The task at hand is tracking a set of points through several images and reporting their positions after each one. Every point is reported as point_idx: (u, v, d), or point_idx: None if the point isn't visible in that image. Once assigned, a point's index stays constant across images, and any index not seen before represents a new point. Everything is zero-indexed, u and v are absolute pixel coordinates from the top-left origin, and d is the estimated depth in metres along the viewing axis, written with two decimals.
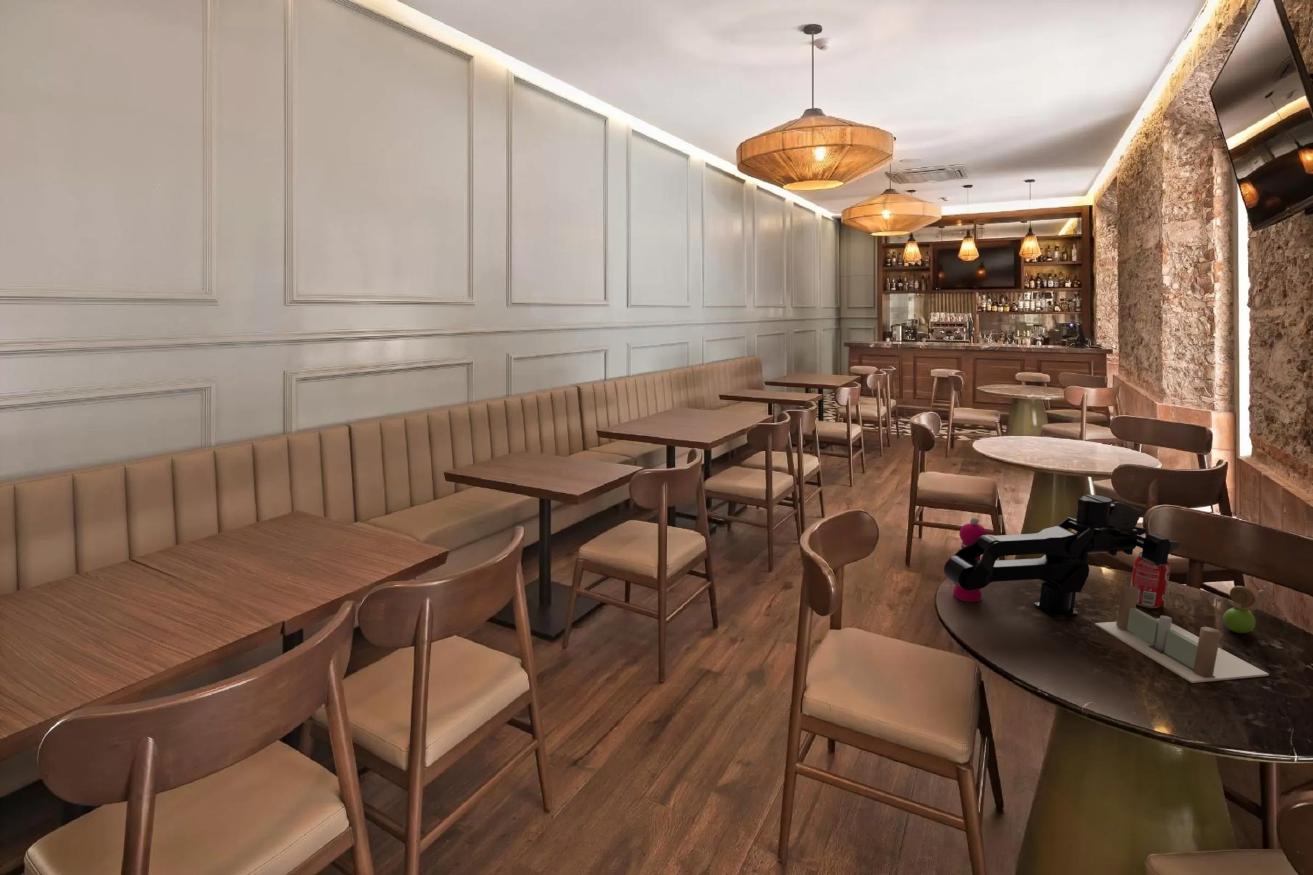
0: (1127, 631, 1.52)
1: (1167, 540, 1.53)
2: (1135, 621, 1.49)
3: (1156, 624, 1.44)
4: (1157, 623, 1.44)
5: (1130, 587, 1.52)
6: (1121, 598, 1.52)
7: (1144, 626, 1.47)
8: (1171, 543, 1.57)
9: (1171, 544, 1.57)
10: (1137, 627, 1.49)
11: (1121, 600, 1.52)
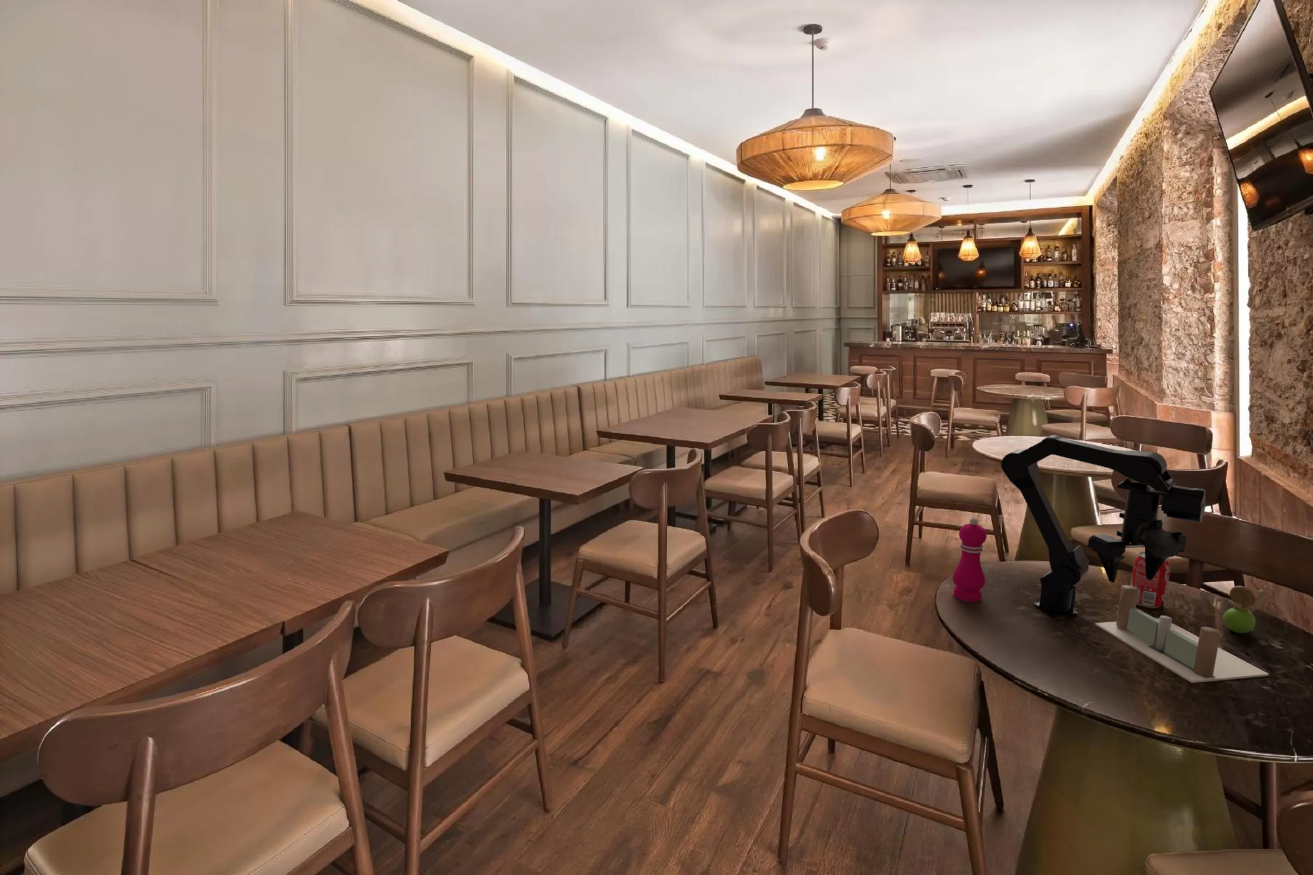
0: (1127, 631, 1.52)
1: (1108, 553, 1.45)
2: (1135, 621, 1.49)
3: (1156, 624, 1.44)
4: (1157, 623, 1.44)
5: (1130, 587, 1.52)
6: (1121, 598, 1.52)
7: (1144, 626, 1.47)
8: (1111, 569, 1.49)
9: (1110, 569, 1.49)
10: (1137, 627, 1.49)
11: (1121, 600, 1.52)
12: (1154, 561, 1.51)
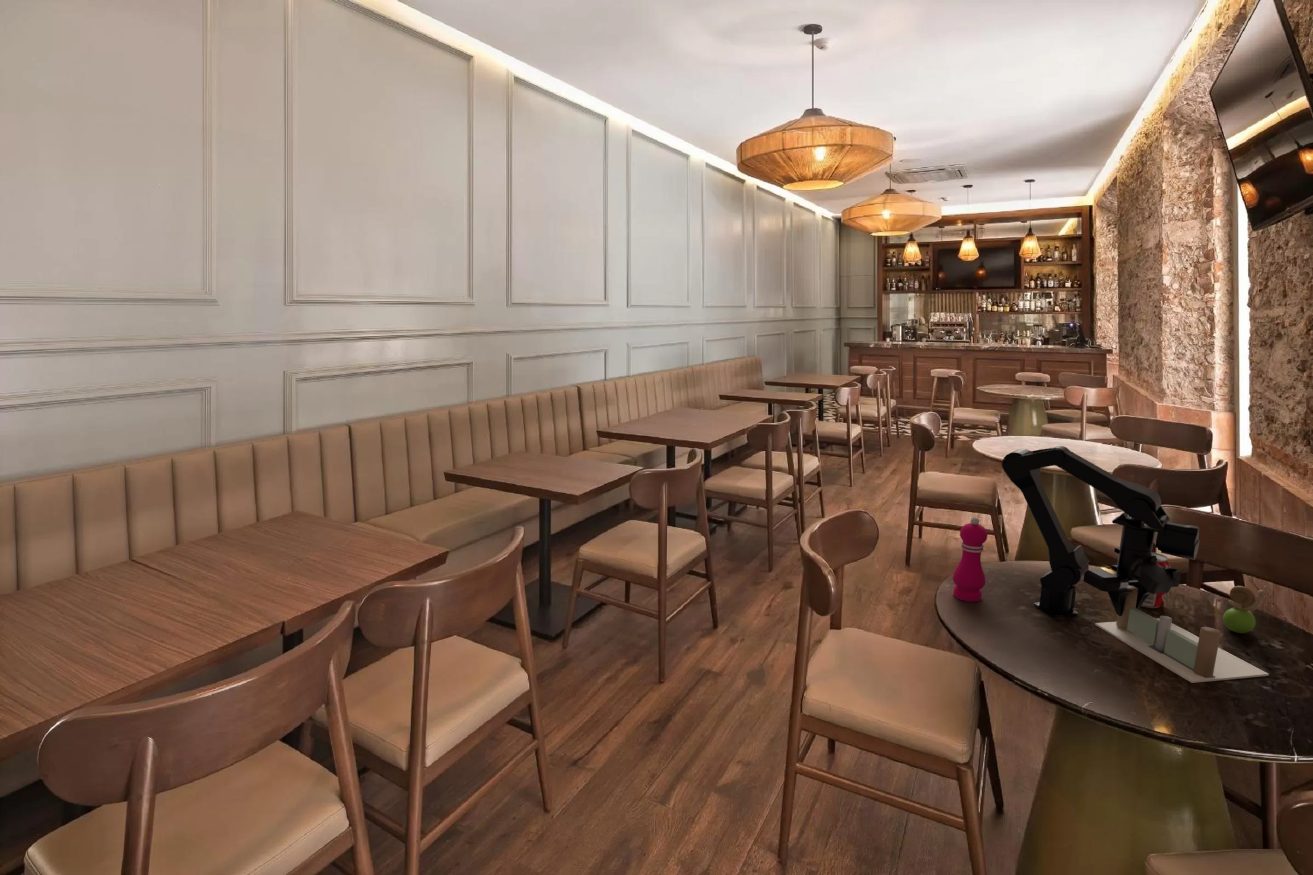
0: (1127, 631, 1.52)
1: (1104, 589, 1.47)
2: (1135, 621, 1.49)
3: (1156, 624, 1.44)
4: (1157, 623, 1.44)
5: (1130, 587, 1.52)
6: None
7: (1144, 626, 1.47)
8: (1119, 603, 1.51)
9: (1118, 603, 1.51)
10: (1137, 627, 1.49)
11: None
12: (1137, 596, 1.52)
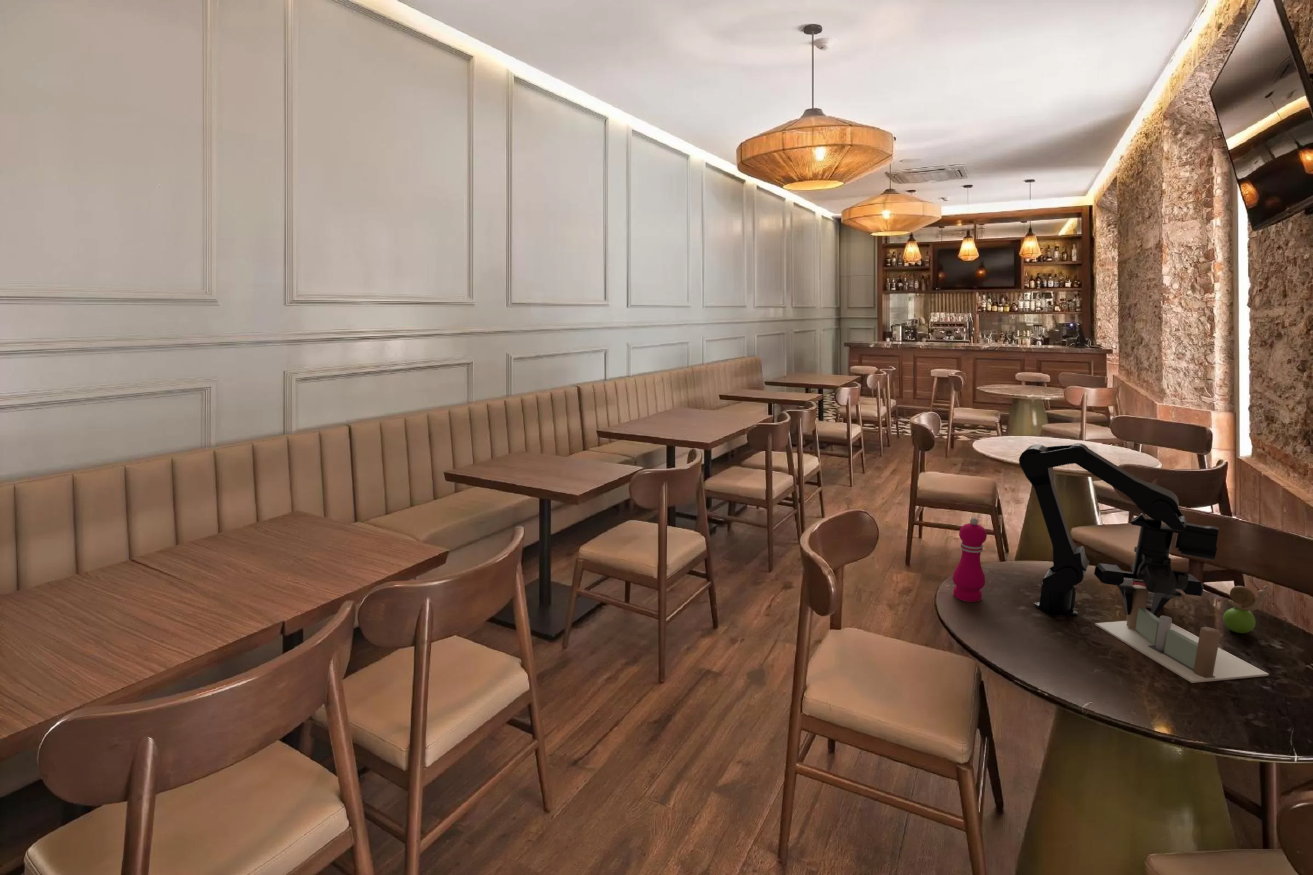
0: (1127, 631, 1.52)
1: (1103, 581, 1.50)
2: (1142, 621, 1.50)
3: (1157, 623, 1.44)
4: (1158, 622, 1.44)
5: (1141, 587, 1.52)
6: None
7: (1148, 626, 1.47)
8: (1125, 601, 1.52)
9: (1125, 600, 1.52)
10: (1143, 627, 1.49)
11: None
12: (1157, 600, 1.50)
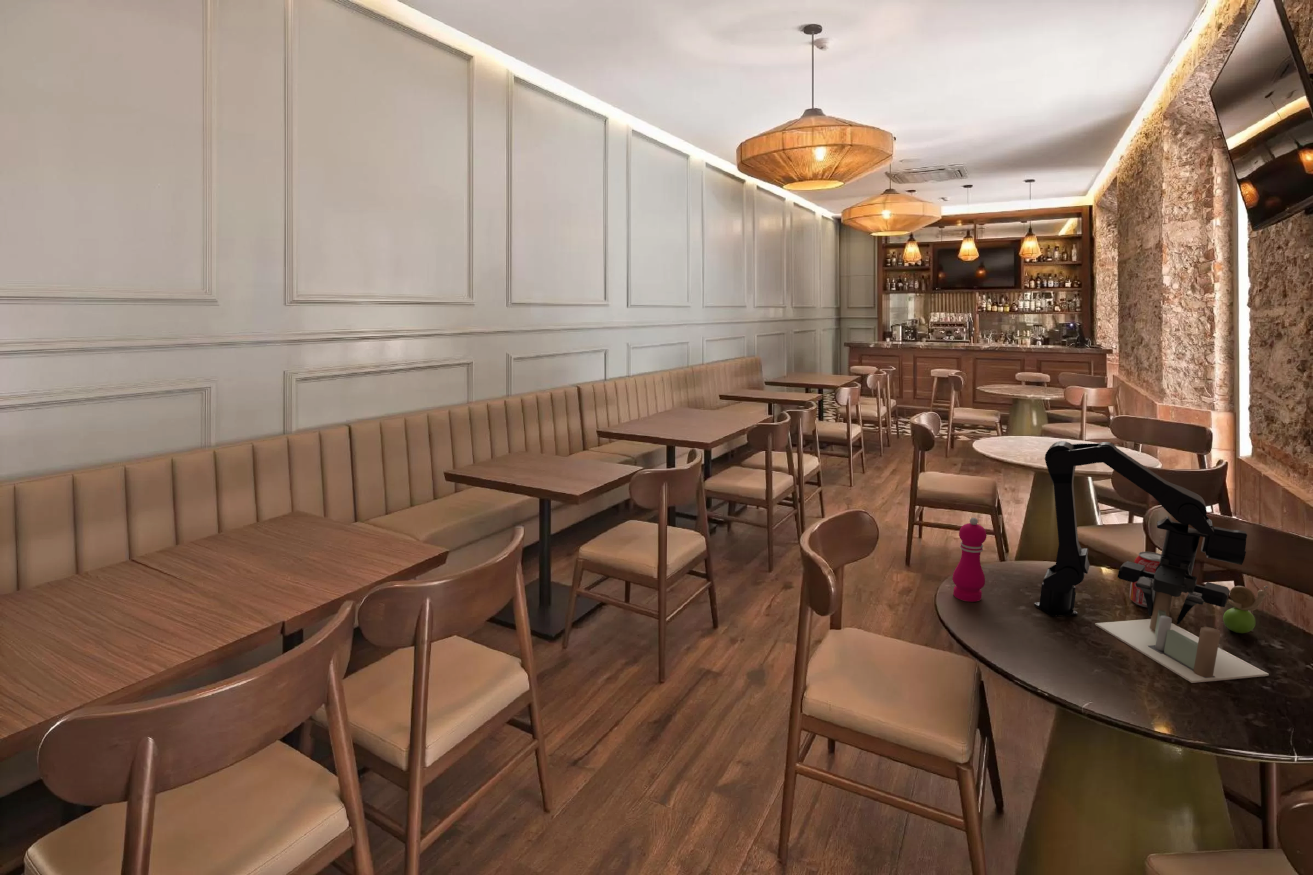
0: (1127, 631, 1.52)
1: (1119, 576, 1.53)
2: (1157, 622, 1.49)
3: None
4: None
5: None
6: (1154, 599, 1.52)
7: None
8: None
9: None
10: (1157, 628, 1.49)
11: None
12: None
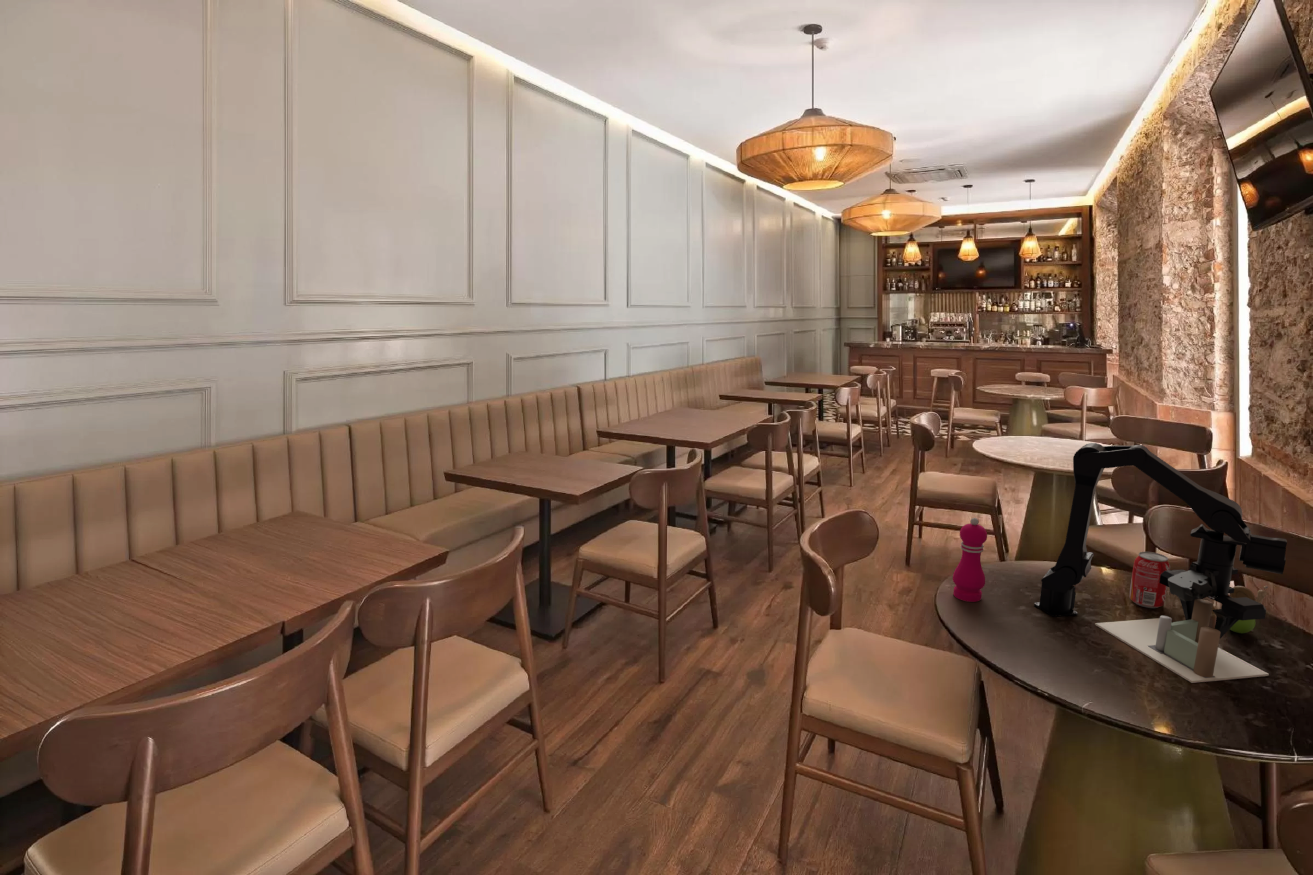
0: (1127, 631, 1.52)
1: (1159, 580, 1.52)
2: None
3: None
4: None
5: (1205, 602, 1.44)
6: None
7: None
8: None
9: None
10: None
11: None
12: None
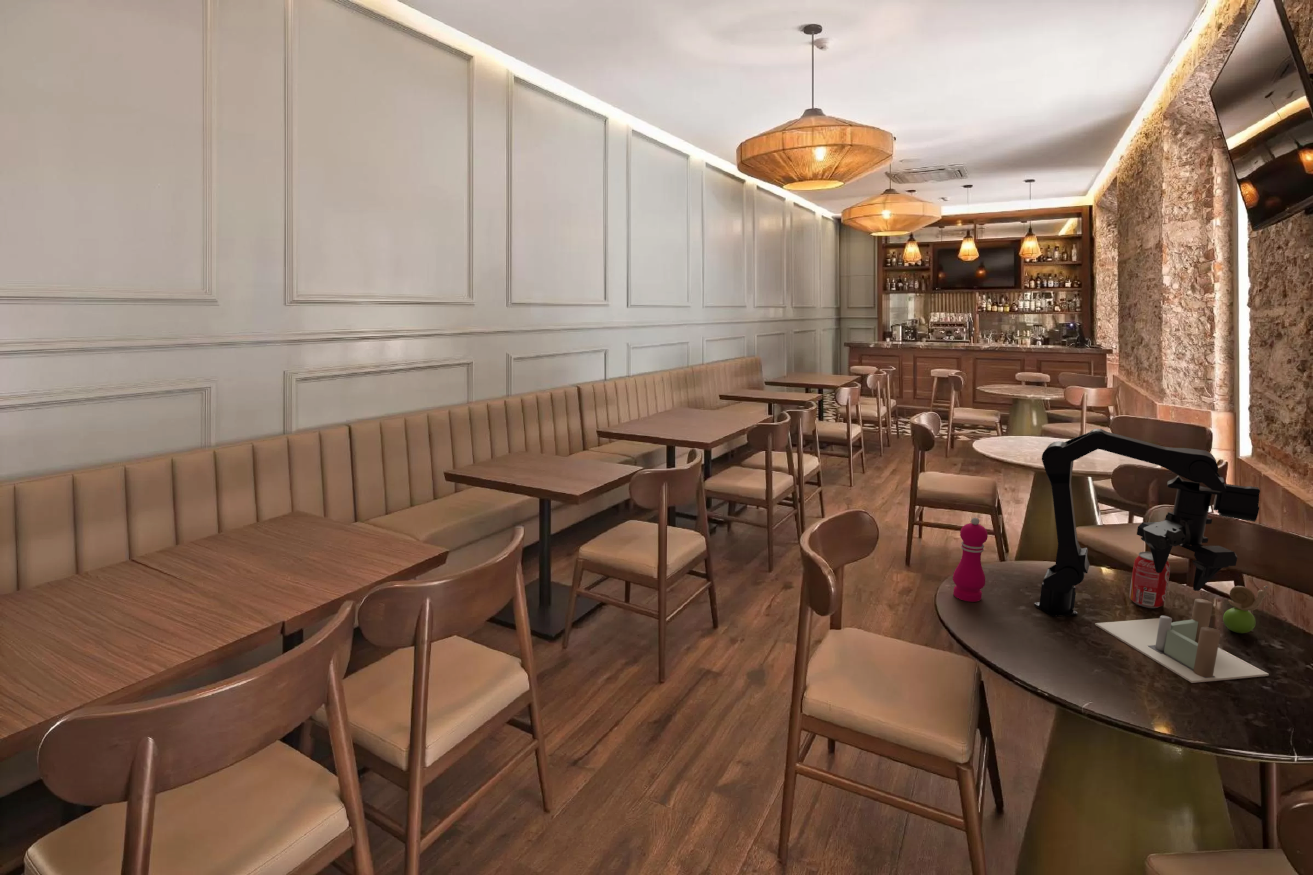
0: (1127, 631, 1.52)
1: None
2: None
3: None
4: None
5: (1205, 602, 1.44)
6: None
7: None
8: None
9: None
10: None
11: None
12: None
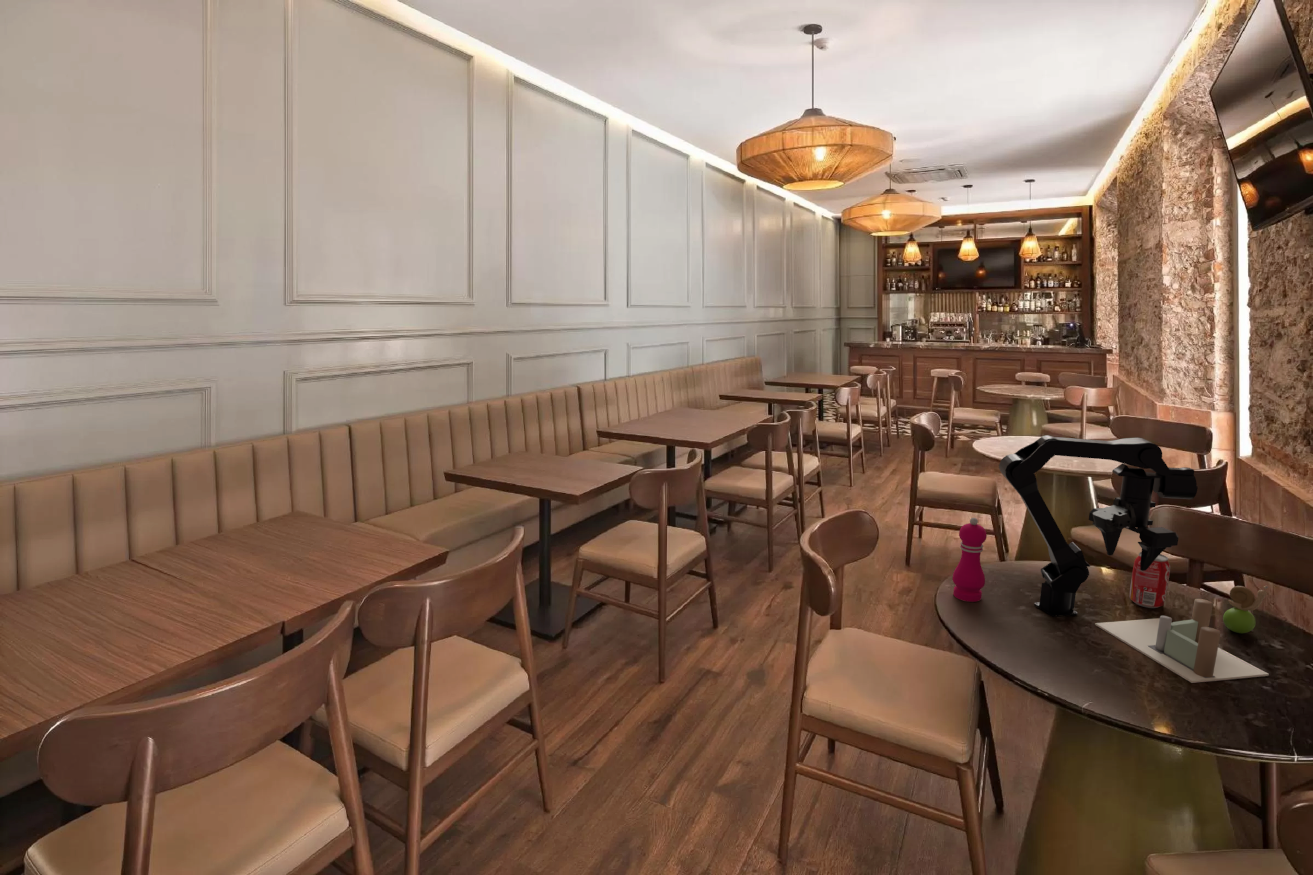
0: (1127, 631, 1.52)
1: (1089, 517, 1.64)
2: None
3: None
4: None
5: (1205, 602, 1.44)
6: None
7: None
8: None
9: None
10: None
11: None
12: None
